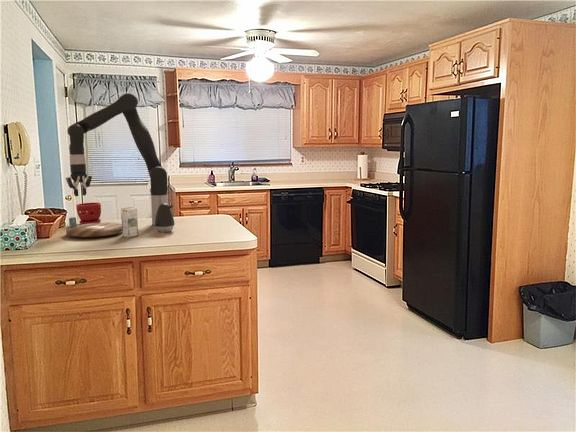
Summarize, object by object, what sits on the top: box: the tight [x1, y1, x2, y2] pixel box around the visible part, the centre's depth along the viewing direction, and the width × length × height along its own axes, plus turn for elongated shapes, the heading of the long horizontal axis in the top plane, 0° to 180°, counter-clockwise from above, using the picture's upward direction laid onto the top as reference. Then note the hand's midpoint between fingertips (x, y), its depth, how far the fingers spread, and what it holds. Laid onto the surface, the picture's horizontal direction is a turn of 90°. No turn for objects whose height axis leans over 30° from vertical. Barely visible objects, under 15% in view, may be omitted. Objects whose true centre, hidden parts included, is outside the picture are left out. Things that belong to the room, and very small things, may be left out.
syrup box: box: [120, 206, 139, 238], centre depth 239 cm, size 6×6×14 cm
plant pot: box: [76, 202, 102, 225], centre depth 273 cm, size 13×13×12 cm
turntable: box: [65, 216, 122, 238], centre depth 245 cm, size 28×28×7 cm
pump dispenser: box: [154, 203, 175, 233], centre depth 250 cm, size 10×10×15 cm
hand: (80, 195), depth 249 cm, fingers open, 3 cm apart
